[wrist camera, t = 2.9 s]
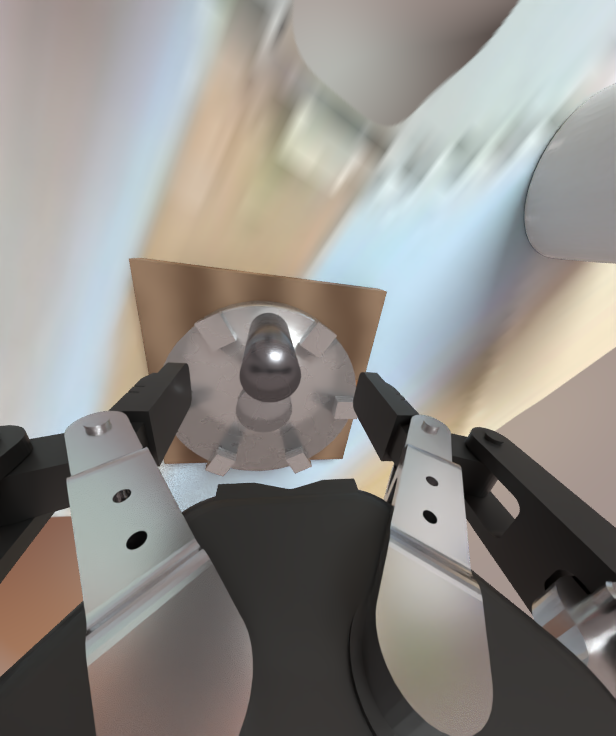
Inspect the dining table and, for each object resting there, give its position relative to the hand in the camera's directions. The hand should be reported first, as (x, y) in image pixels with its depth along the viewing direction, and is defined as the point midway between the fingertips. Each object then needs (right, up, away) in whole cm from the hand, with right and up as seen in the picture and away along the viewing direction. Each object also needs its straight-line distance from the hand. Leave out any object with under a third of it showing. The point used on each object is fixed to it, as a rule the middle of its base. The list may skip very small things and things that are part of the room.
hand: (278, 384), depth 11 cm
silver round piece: (-3, -1, +13) cm, 14 cm away
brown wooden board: (-4, 0, +16) cm, 16 cm away
